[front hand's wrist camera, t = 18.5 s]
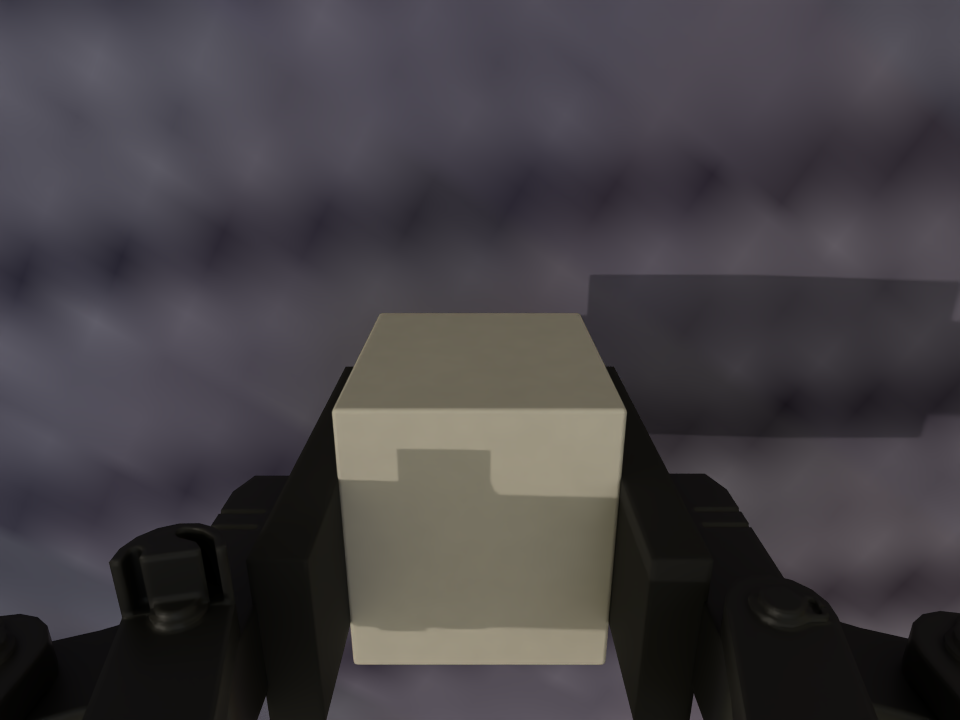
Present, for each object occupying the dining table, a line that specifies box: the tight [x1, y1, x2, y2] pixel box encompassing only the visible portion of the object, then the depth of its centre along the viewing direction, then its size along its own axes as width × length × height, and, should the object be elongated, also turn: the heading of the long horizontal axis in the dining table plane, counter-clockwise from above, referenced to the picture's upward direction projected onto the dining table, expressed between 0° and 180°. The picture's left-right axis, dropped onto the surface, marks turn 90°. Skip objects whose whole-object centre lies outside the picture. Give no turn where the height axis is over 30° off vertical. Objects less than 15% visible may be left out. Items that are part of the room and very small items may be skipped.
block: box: [332, 313, 627, 665], centre depth 13 cm, size 4×5×5 cm
